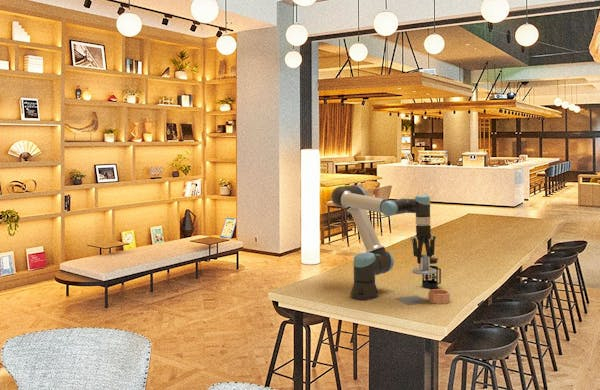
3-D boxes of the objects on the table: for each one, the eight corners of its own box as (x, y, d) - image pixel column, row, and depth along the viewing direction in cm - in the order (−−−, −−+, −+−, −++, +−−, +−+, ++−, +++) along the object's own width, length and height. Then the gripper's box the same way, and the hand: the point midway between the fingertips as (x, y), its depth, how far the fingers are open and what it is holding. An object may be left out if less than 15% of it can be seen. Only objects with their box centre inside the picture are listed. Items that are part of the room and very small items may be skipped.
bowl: (425, 300, 297) (425, 290, 296) (441, 298, 300) (441, 288, 300) (436, 305, 287) (436, 295, 287) (453, 303, 291) (453, 293, 290)
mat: (393, 299, 300) (393, 298, 300) (416, 296, 305) (416, 295, 305) (407, 306, 287) (407, 305, 287) (431, 302, 292) (431, 302, 292)
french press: (417, 287, 323) (417, 248, 321) (425, 284, 331) (425, 246, 329) (436, 290, 316) (437, 250, 314) (443, 287, 323) (444, 248, 321)
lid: (407, 271, 297) (407, 254, 296) (428, 268, 301) (427, 252, 300) (420, 275, 285) (419, 257, 284) (441, 272, 289) (441, 255, 288)
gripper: (412, 226, 285) (414, 272, 286) (441, 224, 290) (442, 268, 292) (405, 225, 292) (406, 269, 294) (433, 222, 297) (434, 266, 299)
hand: (424, 269), depth 293 cm, fingers closed on lid, 3 cm apart
